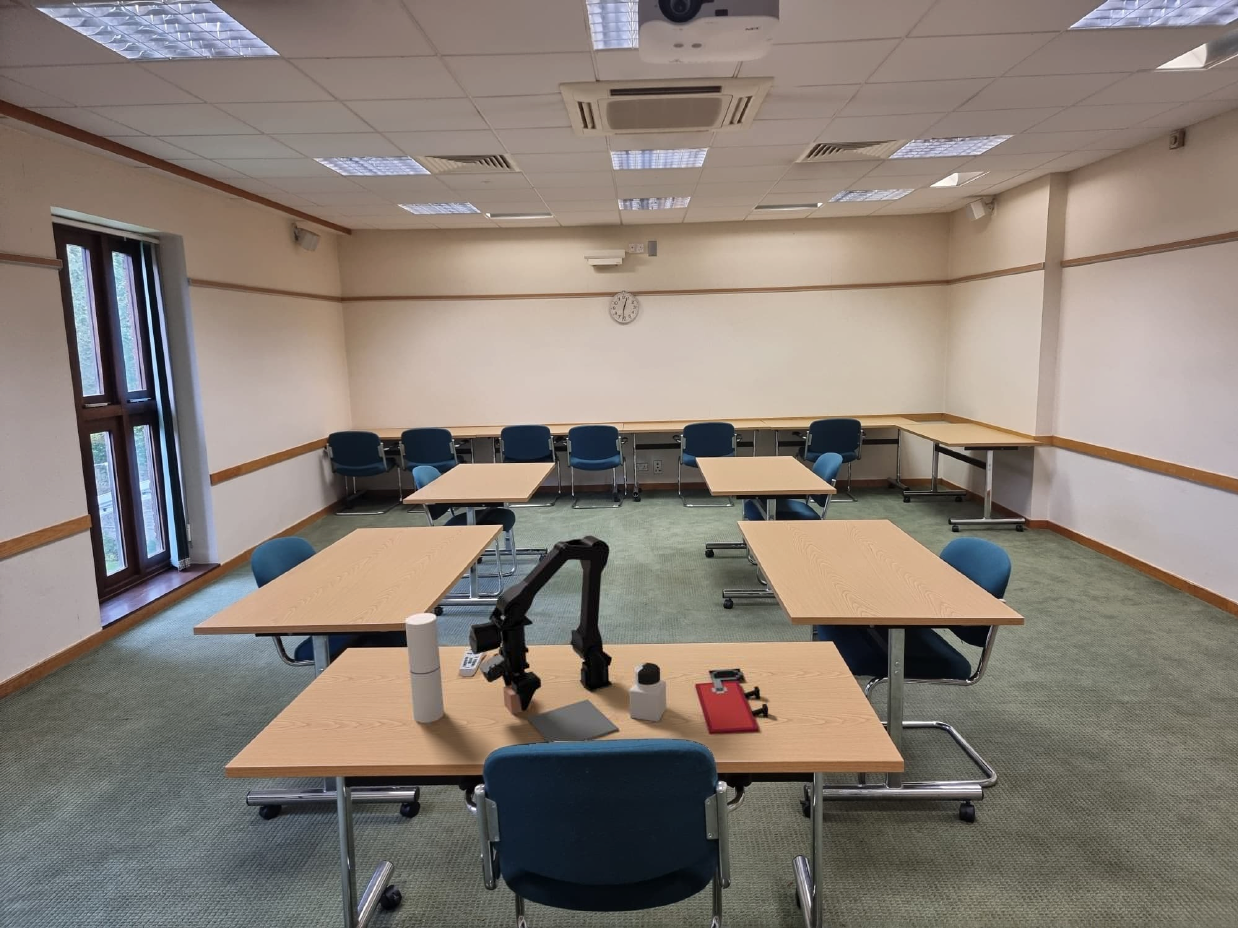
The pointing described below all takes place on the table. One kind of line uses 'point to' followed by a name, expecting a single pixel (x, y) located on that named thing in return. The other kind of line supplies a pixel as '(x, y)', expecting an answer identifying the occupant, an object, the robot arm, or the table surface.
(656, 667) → the medicine bottle
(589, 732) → the gray mat
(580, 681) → the robot arm
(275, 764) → the table surface
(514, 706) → the terracotta cube
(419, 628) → the cylindrical container
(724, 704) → the red board with handle
